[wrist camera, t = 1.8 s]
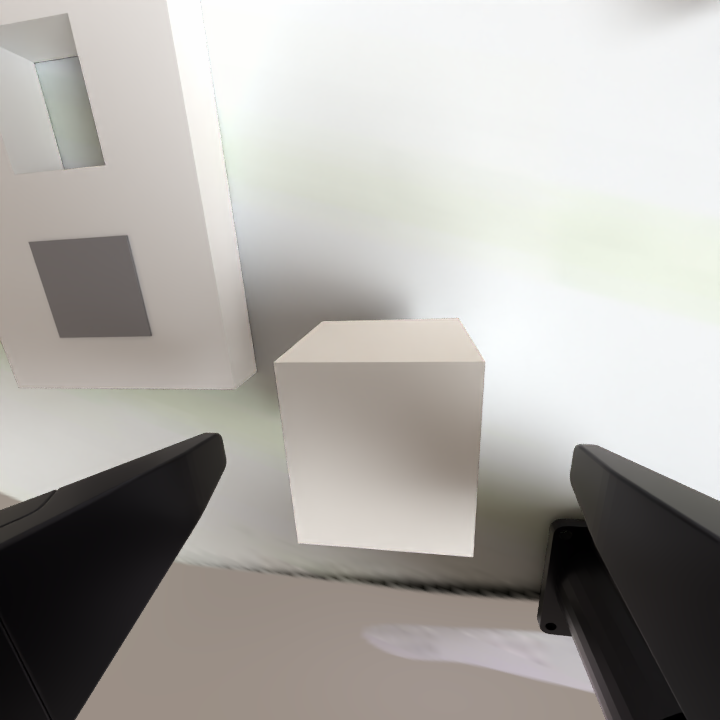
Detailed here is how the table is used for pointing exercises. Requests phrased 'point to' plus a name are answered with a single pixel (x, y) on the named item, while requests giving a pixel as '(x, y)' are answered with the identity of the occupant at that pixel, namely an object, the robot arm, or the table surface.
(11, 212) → the power strip
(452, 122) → the table surface
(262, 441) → the table surface
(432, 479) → the block
